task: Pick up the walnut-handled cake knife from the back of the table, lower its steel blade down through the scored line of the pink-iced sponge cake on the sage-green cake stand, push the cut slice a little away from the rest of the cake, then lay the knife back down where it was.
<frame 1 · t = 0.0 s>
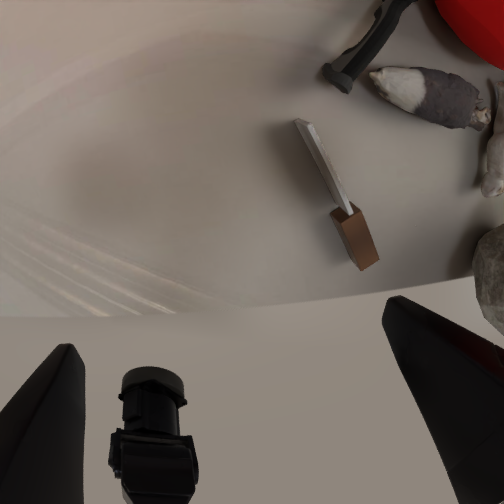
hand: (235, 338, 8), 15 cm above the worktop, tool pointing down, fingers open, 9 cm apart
bird model: (475, 101, 16), point 5 cm above the worktop
figurine: (494, 77, 17), point 3 cm above the worktop
tomato: (468, 36, 17), point 1 cm above the worktop
cake knife: (337, 202, 24), on the worktop
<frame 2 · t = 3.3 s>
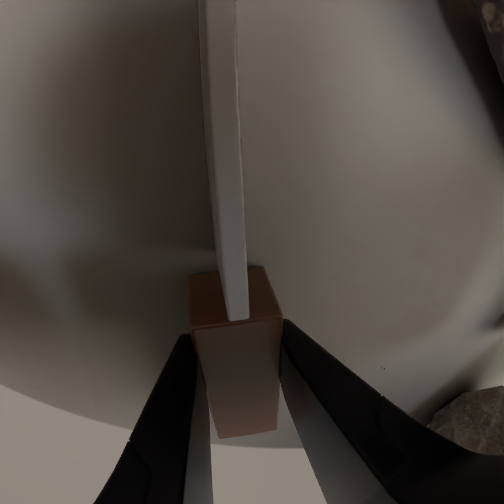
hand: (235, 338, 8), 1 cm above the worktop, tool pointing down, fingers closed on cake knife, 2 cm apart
cake knife: (223, 252, 8), on the worktop, touching gripper
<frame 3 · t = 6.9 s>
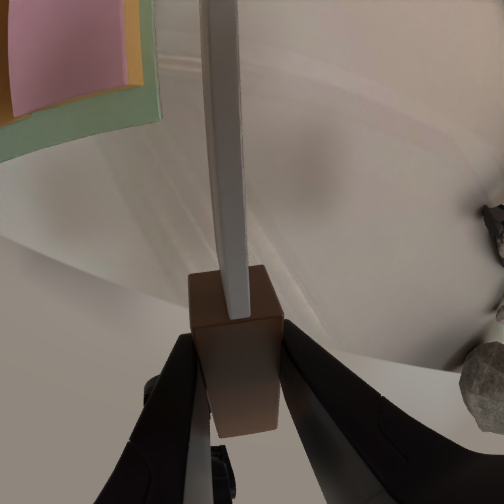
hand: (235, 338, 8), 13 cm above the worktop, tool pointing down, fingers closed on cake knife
rock: (487, 420, 29), point 12 cm above the worktop
cake stand: (89, 46, 13), on the worktop
cake knife: (224, 251, 8), point 12 cm above the worktop, touching gripper
cake: (93, 13, 8), resting on cake stand
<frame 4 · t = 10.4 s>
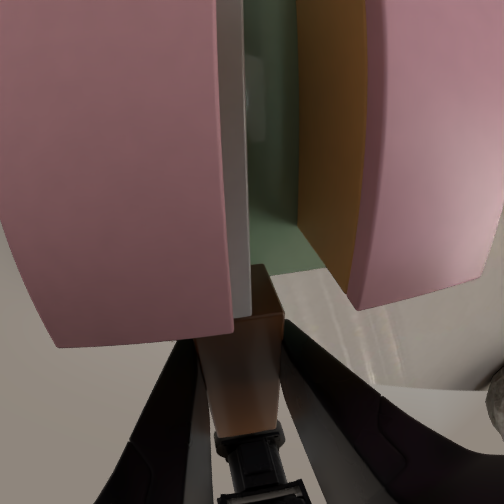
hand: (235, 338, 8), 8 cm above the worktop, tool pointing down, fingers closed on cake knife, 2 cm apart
cake slice: (132, 103, 6), point 6 cm above the worktop, touching cake knife, cake stand
cake stand: (238, 89, 12), on the worktop
cake knife: (224, 249, 8), point 7 cm above the worktop, touching cake slice, gripper
cake: (365, 96, 7), resting on cake stand
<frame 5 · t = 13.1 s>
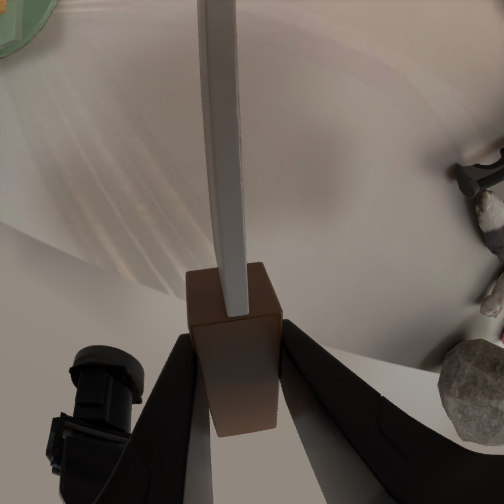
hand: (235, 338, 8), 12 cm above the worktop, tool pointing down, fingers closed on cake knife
rock: (468, 428, 25), point 12 cm above the worktop
cake stand: (9, 3, 9), on the worktop
cake knife: (222, 248, 8), point 11 cm above the worktop, touching gripper
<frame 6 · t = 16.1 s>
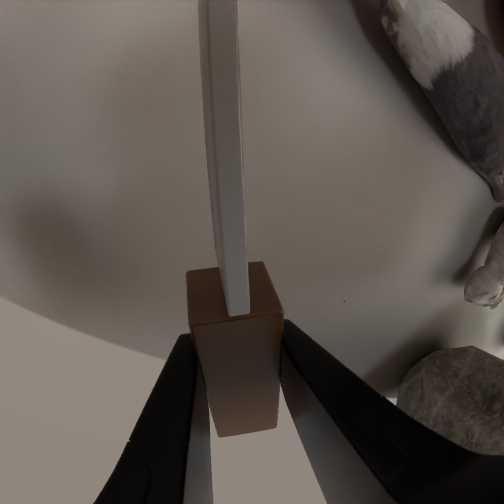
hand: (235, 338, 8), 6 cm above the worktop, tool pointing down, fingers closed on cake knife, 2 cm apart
cake knife: (223, 247, 8), point 5 cm above the worktop, touching gripper
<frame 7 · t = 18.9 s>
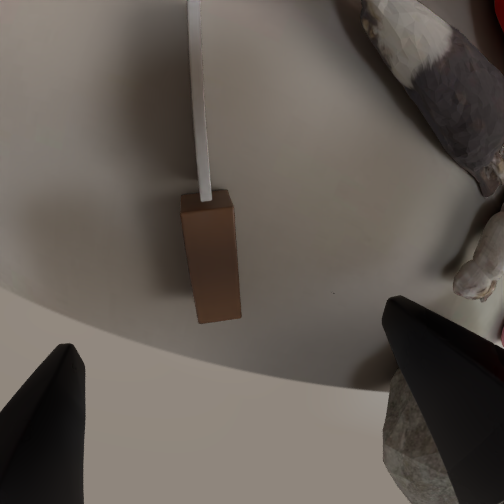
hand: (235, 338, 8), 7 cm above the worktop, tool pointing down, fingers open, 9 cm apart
rock: (422, 501, 13), point 12 cm above the worktop
cake knife: (203, 180, 13), on the worktop
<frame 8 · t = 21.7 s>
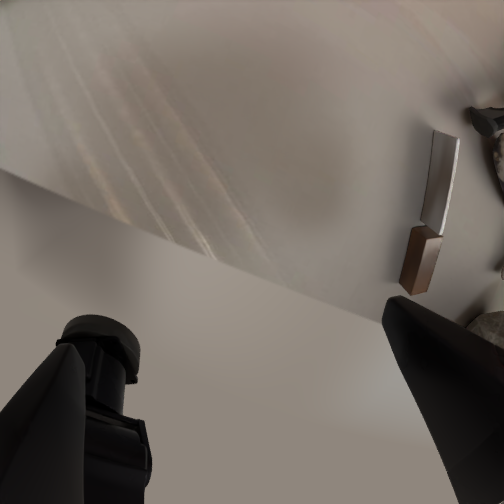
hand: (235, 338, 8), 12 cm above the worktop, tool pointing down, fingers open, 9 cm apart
rock: (496, 405, 23), point 12 cm above the worktop
cake knife: (421, 220, 22), on the worktop
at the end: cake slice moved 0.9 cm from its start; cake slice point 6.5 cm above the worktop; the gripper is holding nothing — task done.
